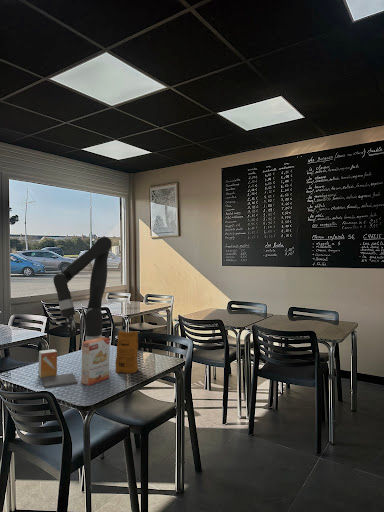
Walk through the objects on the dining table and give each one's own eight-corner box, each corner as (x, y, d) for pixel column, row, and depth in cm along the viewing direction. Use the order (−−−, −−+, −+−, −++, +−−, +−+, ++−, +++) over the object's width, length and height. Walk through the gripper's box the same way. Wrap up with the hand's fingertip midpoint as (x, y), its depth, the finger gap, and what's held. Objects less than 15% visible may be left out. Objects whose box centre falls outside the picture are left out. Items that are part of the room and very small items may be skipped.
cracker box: (89, 386, 177) (89, 343, 177) (80, 383, 180) (81, 341, 180) (109, 378, 189) (110, 337, 189) (101, 376, 192) (102, 336, 192)
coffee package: (118, 367, 207) (119, 329, 207) (140, 368, 206) (140, 329, 206) (112, 373, 197) (113, 332, 197) (135, 374, 196) (135, 333, 196)
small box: (40, 378, 187) (41, 353, 187) (38, 375, 192) (38, 350, 193) (57, 376, 192) (57, 351, 192) (54, 372, 197) (54, 348, 197)
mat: (72, 375, 193) (72, 373, 193) (77, 383, 181) (77, 381, 181) (42, 379, 187) (42, 377, 187) (44, 388, 174) (45, 386, 174)
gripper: (71, 306, 200) (78, 335, 199) (75, 306, 214) (81, 333, 213) (57, 310, 199) (64, 339, 198) (62, 309, 213) (68, 336, 212)
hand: (73, 335), depth 205 cm, fingers open, 8 cm apart
